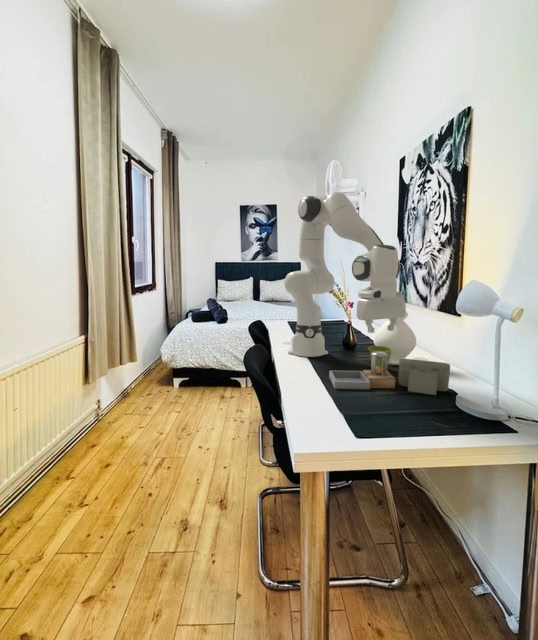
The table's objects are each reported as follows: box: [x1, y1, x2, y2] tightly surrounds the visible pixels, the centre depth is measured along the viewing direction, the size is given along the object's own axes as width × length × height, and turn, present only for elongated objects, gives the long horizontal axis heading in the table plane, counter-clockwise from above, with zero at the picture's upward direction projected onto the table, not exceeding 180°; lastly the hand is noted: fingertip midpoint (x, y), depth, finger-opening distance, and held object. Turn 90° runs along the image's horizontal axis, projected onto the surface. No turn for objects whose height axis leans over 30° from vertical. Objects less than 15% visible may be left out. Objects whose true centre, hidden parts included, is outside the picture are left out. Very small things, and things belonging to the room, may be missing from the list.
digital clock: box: [398, 358, 451, 396], centre depth 130 cm, size 16×9×11 cm, turn 54°
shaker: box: [370, 351, 388, 376], centre depth 136 cm, size 6×6×8 cm
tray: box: [328, 370, 371, 391], centre depth 137 cm, size 14×12×2 cm
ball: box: [376, 366, 382, 374], centre depth 136 cm, size 3×3×3 cm
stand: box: [362, 369, 396, 389], centre depth 137 cm, size 10×9×4 cm
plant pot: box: [367, 345, 393, 371], centre depth 155 cm, size 9×9×9 cm
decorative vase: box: [373, 310, 417, 366], centre depth 167 cm, size 18×18×25 cm
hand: (380, 331), depth 134 cm, fingers open, 8 cm apart
